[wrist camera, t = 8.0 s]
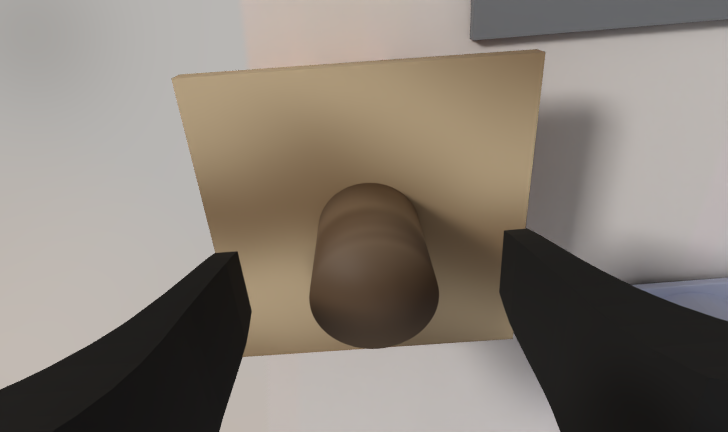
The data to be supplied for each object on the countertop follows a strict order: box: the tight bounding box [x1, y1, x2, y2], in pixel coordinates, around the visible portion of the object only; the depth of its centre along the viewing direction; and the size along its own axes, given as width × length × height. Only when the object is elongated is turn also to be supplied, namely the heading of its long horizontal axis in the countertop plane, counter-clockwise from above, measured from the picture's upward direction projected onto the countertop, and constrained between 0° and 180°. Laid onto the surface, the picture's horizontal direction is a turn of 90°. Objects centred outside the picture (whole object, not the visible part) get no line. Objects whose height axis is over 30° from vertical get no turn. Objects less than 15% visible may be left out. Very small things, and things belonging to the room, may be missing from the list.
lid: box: [172, 49, 545, 357], centre depth 13 cm, size 10×10×4 cm
